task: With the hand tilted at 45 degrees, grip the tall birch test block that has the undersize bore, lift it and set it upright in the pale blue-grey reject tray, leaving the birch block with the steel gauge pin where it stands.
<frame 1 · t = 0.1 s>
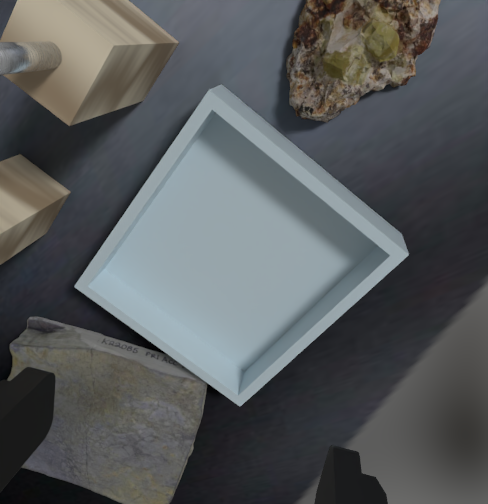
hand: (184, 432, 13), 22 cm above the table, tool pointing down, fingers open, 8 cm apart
mineral rock: (352, 41, 29), on the table
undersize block: (33, 195, 37), on the table
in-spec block: (132, 49, 31), on the table
fossil: (104, 401, 46), on the table
reject tray: (236, 251, 36), on the table
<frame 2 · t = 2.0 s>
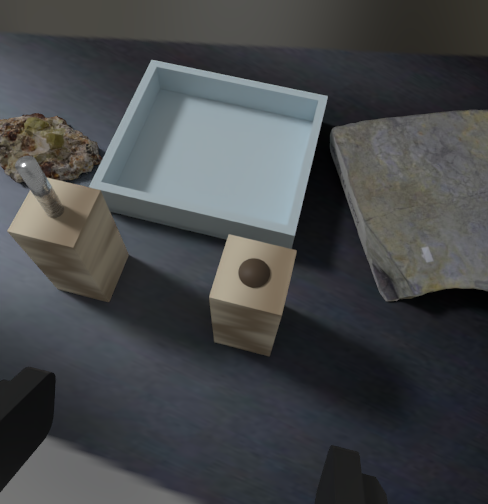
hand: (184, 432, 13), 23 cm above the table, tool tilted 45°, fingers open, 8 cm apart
mineral rock: (51, 157, 46), on the table
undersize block: (248, 322, 39), on the table
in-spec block: (94, 271, 40), on the table
fossil: (439, 217, 44), on the table
reject tray: (216, 162, 46), on the table
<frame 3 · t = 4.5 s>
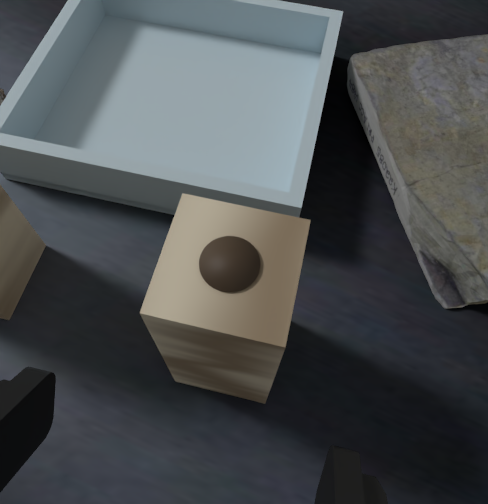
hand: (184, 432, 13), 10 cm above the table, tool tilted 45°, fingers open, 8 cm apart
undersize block: (231, 348, 24), on the table
reject tray: (184, 111, 31), on the table
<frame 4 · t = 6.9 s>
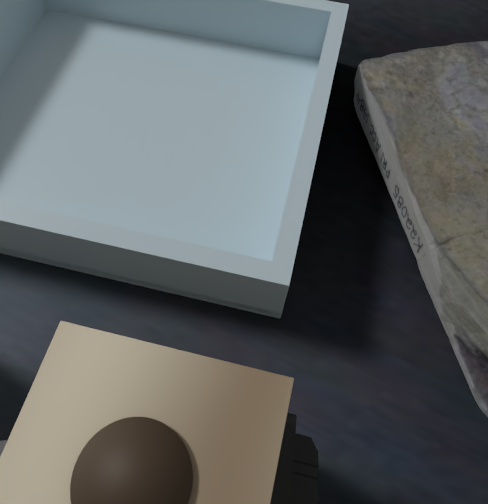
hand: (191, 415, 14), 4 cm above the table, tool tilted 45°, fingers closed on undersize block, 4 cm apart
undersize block: (186, 487, 17), on the table, touching gripper
reject tray: (140, 134, 24), on the table
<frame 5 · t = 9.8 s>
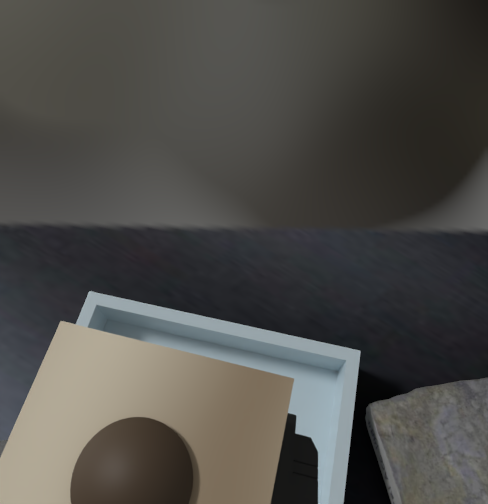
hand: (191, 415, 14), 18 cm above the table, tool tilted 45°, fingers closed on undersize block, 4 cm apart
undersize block: (186, 487, 17), point 14 cm above the table, touching gripper
reject tray: (192, 455, 30), on the table
when the fingers open (6 cm above the table, at t = 12.7 s): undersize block drops 1 cm, resting on reject tray.
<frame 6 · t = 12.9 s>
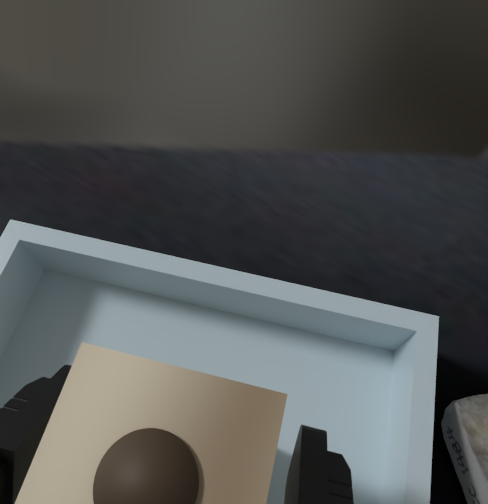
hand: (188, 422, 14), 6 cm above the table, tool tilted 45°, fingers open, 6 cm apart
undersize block: (190, 488, 18), point 1 cm above the table, touching reject tray
reject tray: (165, 480, 19), on the table
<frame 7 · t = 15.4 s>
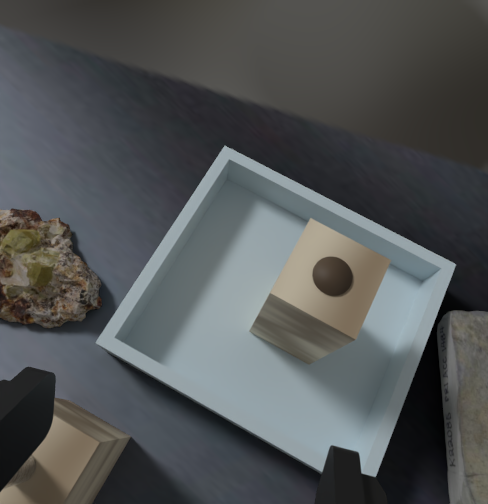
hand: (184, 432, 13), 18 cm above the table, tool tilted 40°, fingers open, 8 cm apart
mineral rock: (36, 276, 33), on the table
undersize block: (293, 318, 32), point 1 cm above the table, touching reject tray
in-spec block: (78, 453, 29), on the table
reject tray: (278, 313, 33), on the table
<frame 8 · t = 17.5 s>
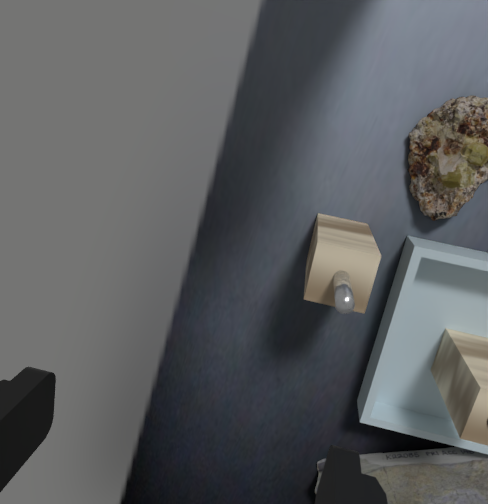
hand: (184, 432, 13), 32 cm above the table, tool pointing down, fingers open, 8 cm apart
mineral rock: (449, 158, 40), on the table
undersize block: (462, 355, 44), point 1 cm above the table, touching reject tray
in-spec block: (336, 241, 44), on the table
reject tray: (464, 342, 44), on the table
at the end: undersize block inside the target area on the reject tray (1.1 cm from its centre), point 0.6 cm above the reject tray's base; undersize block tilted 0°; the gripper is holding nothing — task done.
